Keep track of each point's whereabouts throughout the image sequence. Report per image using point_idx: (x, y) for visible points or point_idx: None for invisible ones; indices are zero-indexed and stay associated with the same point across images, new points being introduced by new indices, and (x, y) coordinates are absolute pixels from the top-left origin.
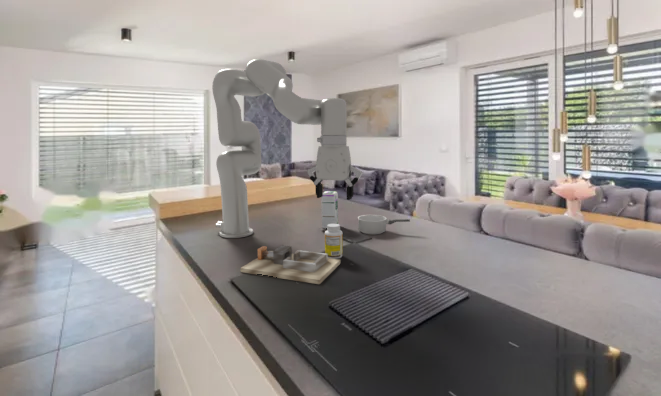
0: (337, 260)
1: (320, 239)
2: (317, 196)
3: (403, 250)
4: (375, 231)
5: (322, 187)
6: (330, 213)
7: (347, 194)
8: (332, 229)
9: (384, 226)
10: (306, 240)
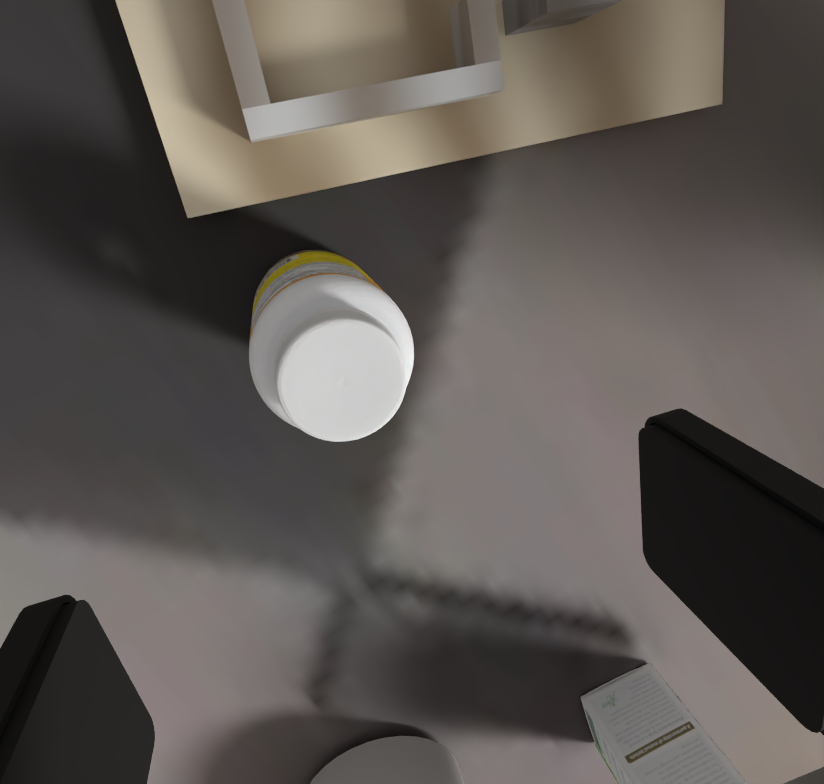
0: (195, 191)
1: (563, 516)
2: (679, 420)
3: None
4: (329, 774)
5: (761, 682)
6: (661, 767)
7: (14, 680)
8: (311, 316)
9: None
10: (627, 454)
